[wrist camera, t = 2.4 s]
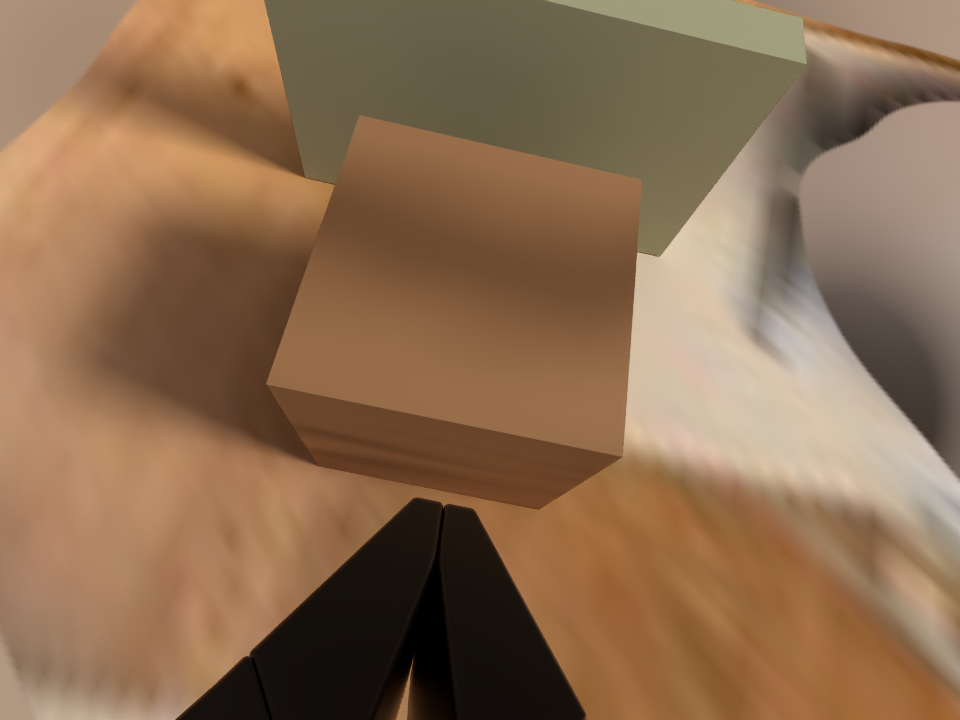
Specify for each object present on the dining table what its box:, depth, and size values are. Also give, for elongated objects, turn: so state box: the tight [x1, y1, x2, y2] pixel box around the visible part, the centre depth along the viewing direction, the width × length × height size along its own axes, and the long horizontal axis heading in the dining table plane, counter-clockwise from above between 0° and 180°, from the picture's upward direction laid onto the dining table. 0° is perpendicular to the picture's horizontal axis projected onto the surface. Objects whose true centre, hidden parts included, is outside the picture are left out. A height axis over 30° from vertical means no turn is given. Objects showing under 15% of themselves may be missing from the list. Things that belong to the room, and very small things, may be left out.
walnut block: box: [266, 115, 642, 510], centre depth 18 cm, size 8×8×8 cm
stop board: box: [264, 0, 807, 256], centre depth 21 cm, size 2×16×10 cm, turn 80°
